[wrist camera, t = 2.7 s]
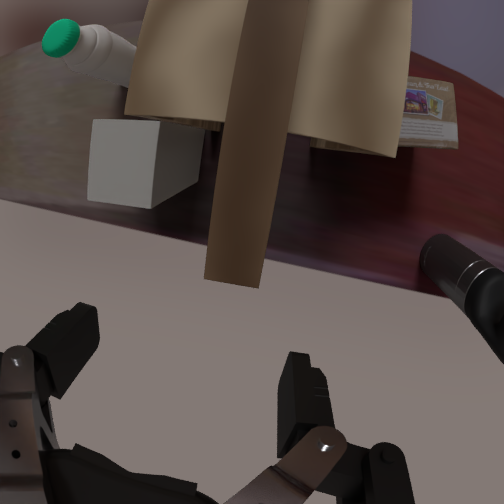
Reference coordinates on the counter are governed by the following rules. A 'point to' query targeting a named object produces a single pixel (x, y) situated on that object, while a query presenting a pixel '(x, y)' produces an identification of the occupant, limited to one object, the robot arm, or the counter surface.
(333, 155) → the counter surface
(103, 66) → the white bottle
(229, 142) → the batten
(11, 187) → the counter surface
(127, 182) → the riser block
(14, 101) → the counter surface
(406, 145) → the tea box
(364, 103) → the wooden open box
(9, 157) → the counter surface
